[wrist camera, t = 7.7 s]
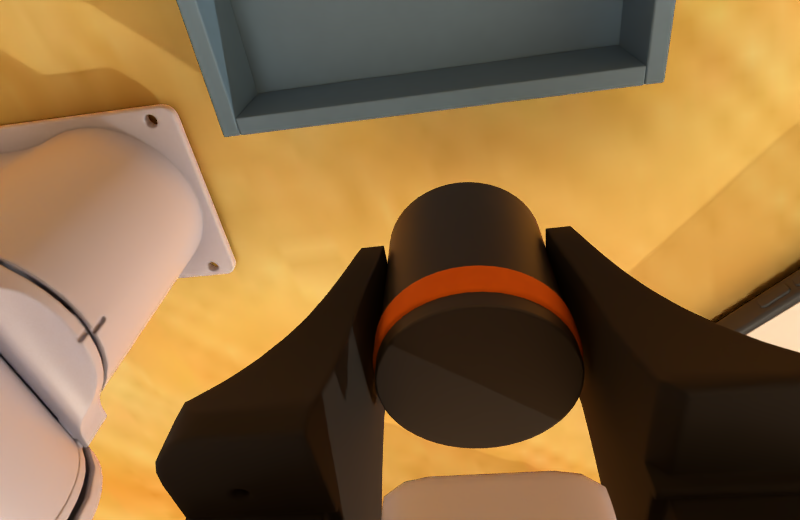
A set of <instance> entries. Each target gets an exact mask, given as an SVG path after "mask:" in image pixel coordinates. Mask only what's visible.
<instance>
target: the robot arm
mask: <svg viewBox="0 0 800 520" xmlns="http://www.w3.org/2000/svg"><path fill="white" fill-rule="evenodd" d="M148 114H149V115H152V116H154V117H155V118H156V119H157V123H158V124H154V123H152V122H151V121H150V119H149V117H148ZM546 250H547V253H548V256H549V259H550V262H551V265H552V268H553V271H554V274H555V277H556V280H557V283H558V286H559V289H560V292H561V295H562V298H563V301H564V302H565V304H566V305H567V307H568V308H569V310H570V312H571V314H572V317H573V319H574V322H575V325H576V327H577V330H578V333H579V336H580V339H581V343H582V347H583V363H584V372H585V377H584V383H583V388H582V391H581V393H580V396H579V397H580V400H581V403H582V407H583V410H584V414H585V418H586V422H587V426H588V430H589V434H590V438H591V443H592V447H593V451H594V455H595V460H596V464H597V468H598V472H599V477H600V481H601V484H599V483H597V482H595V481H593V480H592V479H590V478H588V477H586V476H584V475H582V474H578V473H569V472H559V471H541V472H520V473H499V474H478V475H456V476H435V477H425V478H420V479H416V480H411V481H406V482H404V483H402V484H401V485H399V486H398V487H397V488H395V489H394V490H393V491H391V492H390V493H388V494H387V495H386V496H384V501H383V507H382V462H383V433H384V415H385V409H384V407H383V405H382V403H381V402H380V400H379V397H378V394H377V392H376V387H375V376H374V371H373V350H374V343H375V335H376V330H377V326H378V323H379V321H380V318H381V315H382V307H383V298H384V290H385V281H386V273H387V260H386V255H385V250H384V246H378V247H368V248H361V250H360V251H359V252H358V253H357V255H356V256H355V257H354V259H353V260H352V262H351V263H350V265H349V266H348V267H347V269H346V270H345V271H344V273H343V274H342V276H341V277H340V278H339V280H338V281H337V282H336V283H335V285H334V286H333V287H332V289H331V290H330V291H329V293H328V294H327V295H326V296H325V297H324V299H323V300H322V301H321V302H320V303H319V304H318V305H317V307H316V308H315V309H314V310H313V311H312V312H311V313H310V315H309V316H308V317H307V318H306V319H305V320H304V321H303V322H302V323H301V324H300V325H299V326H297V327H296V328H295V329H294V330H293V331H292V332H291V333H290V334H289V335H288V336H287V337H285V338H284V339H283V340H282V341H281V342H279V343H278V344H277V345H275V346H274V347H273V348H272V349H270V350H269V351H268V352H267V353H265V354H264V355H263V356H262V357H260V358H259V359H258V360H256V361H255V362H253V363H252V364H250V365H249V366H247V367H246V368H245V369H243V370H241V371H240V372H238V373H237V374H235V375H234V376H232V377H230V378H229V379H227V380H226V381H224V382H222V383H221V384H219V385H217V386H215V387H213V388H211V389H210V390H208V391H206V392H204V393H202V394H200V395H199V396H197V397H195V398H193V399H191V400H189V401H187V402H185V403H184V405H183V407H182V409H181V411H180V412H179V414H178V416H177V418H176V420H175V422H174V424H173V426H172V428H171V430H170V432H169V434H168V436H167V439H166V441H165V443H164V445H163V447H162V449H161V451H160V453H159V455H158V458H157V460H156V473H157V475H158V477H159V479H160V481H161V483H162V485H163V486H164V488H165V489H166V490H167V492H168V493H169V495H170V496H171V497H172V499H173V500H174V501H175V503H176V504H177V506H178V507H179V508H180V510H181V511H182V513H183V514H184V515H185V517H186V520H800V353H799V352H796V351H793V350H789V349H786V348H783V347H779V346H776V345H773V344H769V343H766V342H763V341H760V340H758V339H755V338H752V337H750V336H747V335H744V334H741V333H739V332H736V331H733V330H731V329H729V328H726V327H724V326H721V325H719V324H716V323H714V322H712V321H710V320H708V319H705V318H703V317H701V316H699V315H697V314H695V313H693V312H690V311H688V310H686V309H684V308H683V307H681V306H679V305H677V304H675V303H673V302H671V301H670V300H668V299H666V298H664V297H663V296H661V295H659V294H657V293H656V292H654V291H652V290H651V289H649V288H648V287H646V286H644V285H643V284H642V283H640V282H639V281H637V280H636V279H634V278H633V277H631V276H630V275H628V274H627V273H626V272H624V271H623V270H622V269H620V268H619V267H618V266H616V265H615V264H614V263H613V262H611V261H610V260H609V259H608V258H606V257H605V256H604V255H603V254H602V253H600V252H599V251H598V250H597V249H596V248H595V247H593V246H592V245H591V244H590V243H589V242H588V241H587V240H585V239H584V238H583V237H582V236H581V235H580V234H579V233H578V232H576V231H575V230H574V229H573V228H572V227H571V226H567V227H558V228H548V229H546ZM211 262H214V263H216V264H217V265H218V266H214V265H212V264H211ZM235 266H236V260H235V258H234V255H233V253H232V250H231V248H230V245H229V242H228V240H227V237H226V235H225V232H224V230H223V227H222V225H221V222H220V220H219V217H218V215H217V212H216V209H215V207H214V204H213V202H212V199H211V197H210V194H209V192H208V189H207V187H206V184H205V181H204V179H203V176H202V174H201V171H200V169H199V166H198V164H197V161H196V159H195V156H194V154H193V151H192V148H191V146H190V143H189V141H188V138H187V136H186V133H185V131H184V128H183V126H182V123H181V120H180V118H179V115H178V114H177V112H176V110H175V109H174V108H172V107H171V106H169V105H167V104H157V105H150V106H143V107H135V108H128V109H120V110H113V111H106V112H98V113H91V114H83V115H76V116H68V117H61V118H54V119H46V120H39V121H31V122H24V123H17V124H9V125H2V126H0V520H92V519H93V517H94V514H95V512H96V509H97V507H98V504H99V500H100V496H101V492H102V480H103V476H102V471H101V466H100V463H99V461H98V459H97V457H96V455H95V454H94V452H93V451H92V450H91V449H90V448H89V447H88V446H89V444H90V442H91V441H92V439H93V438H94V436H95V434H96V433H97V431H98V430H99V428H100V427H101V425H102V423H103V422H104V420H105V419H106V417H107V414H106V412H105V411H104V409H103V408H102V406H101V403H100V393H101V391H102V390H103V389H104V387H105V386H106V384H107V383H108V381H109V380H110V378H111V377H112V375H113V374H114V372H115V371H116V369H117V368H118V366H119V365H120V363H121V362H122V360H123V359H124V357H125V356H126V354H127V353H128V351H129V350H130V348H131V347H132V345H133V344H134V342H135V341H136V339H137V338H138V336H139V335H140V334H141V332H142V331H143V329H144V328H145V326H146V325H147V323H148V322H149V320H150V319H151V317H152V316H153V314H154V313H155V311H156V310H157V308H158V307H159V305H160V304H161V302H162V301H163V299H164V298H165V296H166V295H167V293H168V292H169V290H170V289H171V287H172V286H173V284H174V283H175V281H176V280H177V278H185V277H196V276H207V275H218V274H228V273H231V272H232V271H233V270H234V268H235Z"/></svg>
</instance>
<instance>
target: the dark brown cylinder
mask: <svg viewBox="0 0 800 520" xmlns="http://www.w3.org/2000/svg"><path fill="white" fill-rule="evenodd" d="M373 371H374V376H375V387H376V392H377V394H378V397H379V400H380V402H381V403H382V405H383V407H384V409H385V410H386V411H387V413H388V414H389V415H390V416H391V417H392V418H393V419H394V420H395V421H396V422H397V423H398V424H399V425H401V426H402V427H404V428H405V429H406V430H408V431H410V432H412V433H413V434H415V435H417V436H419V437H422V438H424V439H426V440H429V441H432V442H435V443H439V444H443V445H447V446H453V447H460V448H492V447H500V446H505V445H510V444H514V443H518V442H521V441H524V440H527V439H530V438H532V437H534V436H537V435H539V434H541V433H543V432H544V431H546V430H548V429H549V428H551V427H553V426H554V425H555V424H557V423H558V422H559V421H561V420H562V419H563V418H564V417H565V416H566V415H567V414H568V413H569V411H570V410H571V409H572V408H573V406H574V405H575V403H576V402H577V400H578V398H579V396H580V393H581V391H582V388H583V383H584V377H585V372H584V363H583V347H582V343H581V339H580V336H579V333H578V330H577V327H576V325H575V322H574V319H573V317H572V314H571V312H570V310H569V308H568V307H567V305H566V304H565V302H564V301H563V298H562V295H561V292H560V289H559V286H558V283H557V280H556V277H555V274H554V271H553V268H552V265H551V262H550V259H549V256H548V253H547V250H546V248H545V245H544V242H543V239H542V236H541V233H540V230H539V227H538V224H537V222H536V219H535V217H534V216H533V214H532V213H531V211H530V210H529V209H528V207H527V206H526V205H525V204H524V203H523V202H522V201H521V200H519V199H518V198H517V197H515V196H514V195H512V194H511V193H509V192H507V191H505V190H503V189H501V188H498V187H495V186H492V185H488V184H483V183H474V182H463V183H454V184H448V185H445V186H441V187H438V188H435V189H433V190H431V191H429V192H427V193H425V194H423V195H422V196H420V197H418V198H417V199H416V200H415V201H413V202H412V203H411V204H410V205H409V206H408V207H407V208H406V209H405V210H404V211H403V213H402V214H401V215H400V217H399V218H398V220H397V222H396V224H395V226H394V229H393V231H392V235H391V240H390V247H389V256H388V264H387V273H386V281H385V290H384V298H383V307H382V315H381V318H380V321H379V323H378V326H377V330H376V335H375V343H374V350H373Z"/></svg>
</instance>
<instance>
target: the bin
mask: <svg viewBox="0 0 800 520" xmlns="http://www.w3.org/2000/svg"><path fill="white" fill-rule="evenodd" d="M176 1H177V4H178V7H179V10H180V12H181V15H182V18H183V21H184V24H185V27H186V30H187V32H188V35H189V38H190V41H191V44H192V47H193V49H194V52H195V55H196V58H197V61H198V64H199V67H200V69H201V72H202V75H203V78H204V81H205V84H206V87H207V89H208V92H209V95H210V98H211V101H212V104H213V107H214V109H215V112H216V115H217V118H218V121H219V124H220V126H221V129H222V132H223V135H224V137H229V136H237V135H240V134H241V135H246V134H254V133H262V132H270V131H278V130H286V129H295V128H303V127H311V126H319V125H327V124H335V123H343V122H351V121H359V120H367V119H375V118H383V117H391V116H399V115H407V114H415V113H423V112H431V111H439V110H447V109H455V108H463V107H471V106H479V105H487V104H495V103H503V102H511V101H519V100H527V99H535V98H543V97H552V96H560V95H568V94H576V93H584V92H592V91H600V90H608V89H616V88H624V87H632V86H640V85H643V84H654V83H662V82H664V78H665V71H666V65H667V58H668V51H669V44H670V37H671V30H672V23H673V16H674V9H675V2H676V0H176Z"/></svg>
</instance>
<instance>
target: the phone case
mask: <svg viewBox="0 0 800 520" xmlns="http://www.w3.org/2000/svg"><path fill="white" fill-rule="evenodd" d="M716 324H719V325H721V326H724V327H726V328H729V329H731V330H733V331H736V332H739V333H741V334H744V335H747V336H750V337H752V338H755V339H758V340H760V341H763V342H766V343H769V344H773V345H776V346H779V347H783V348H786V349H789V350H793V351H796V352H799V353H800V269H799V270H797V271H796V272H794V273H793V274H791V275H790V276H788V277H786V278H785V279H783V280H782V281H780V282H779V283H777V284H775V285H774V286H772V287H771V288H769V289H768V290H766V291H765V292H763V293H761V294H760V295H758V296H757V297H755V298H754V299H752V300H751V301H749V302H747V303H746V304H744V305H743V306H741V307H740V308H738V309H737V310H735V311H733V312H732V313H730V314H729V315H727V316H726V317H724V318H723V319H721V320H719V321H718V322H716Z"/></svg>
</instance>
